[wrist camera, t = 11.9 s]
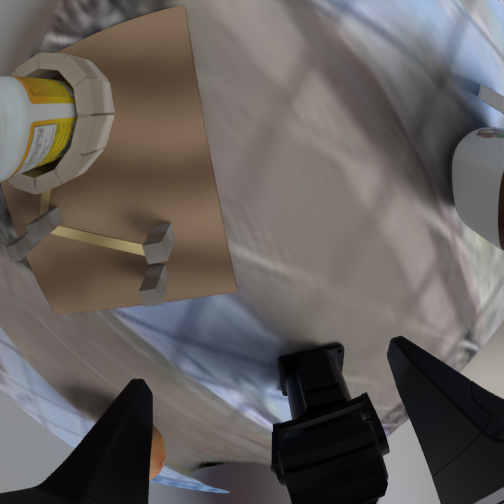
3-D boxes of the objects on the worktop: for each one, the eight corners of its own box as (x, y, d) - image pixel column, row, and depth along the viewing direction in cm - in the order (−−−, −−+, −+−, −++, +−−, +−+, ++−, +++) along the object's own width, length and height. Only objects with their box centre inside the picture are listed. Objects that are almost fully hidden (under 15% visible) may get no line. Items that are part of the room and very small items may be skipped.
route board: (236, 284, 22) (238, 318, 18) (59, 307, 22) (41, 335, 18) (186, 9, 12) (175, -14, 9) (-7, 99, 12) (-39, 104, 9)
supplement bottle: (95, 150, 15) (-7, 192, 7) (35, 164, 15) (-62, 212, 6) (90, 71, 13) (-14, 54, 4) (29, 93, 12) (-73, 105, 4)
